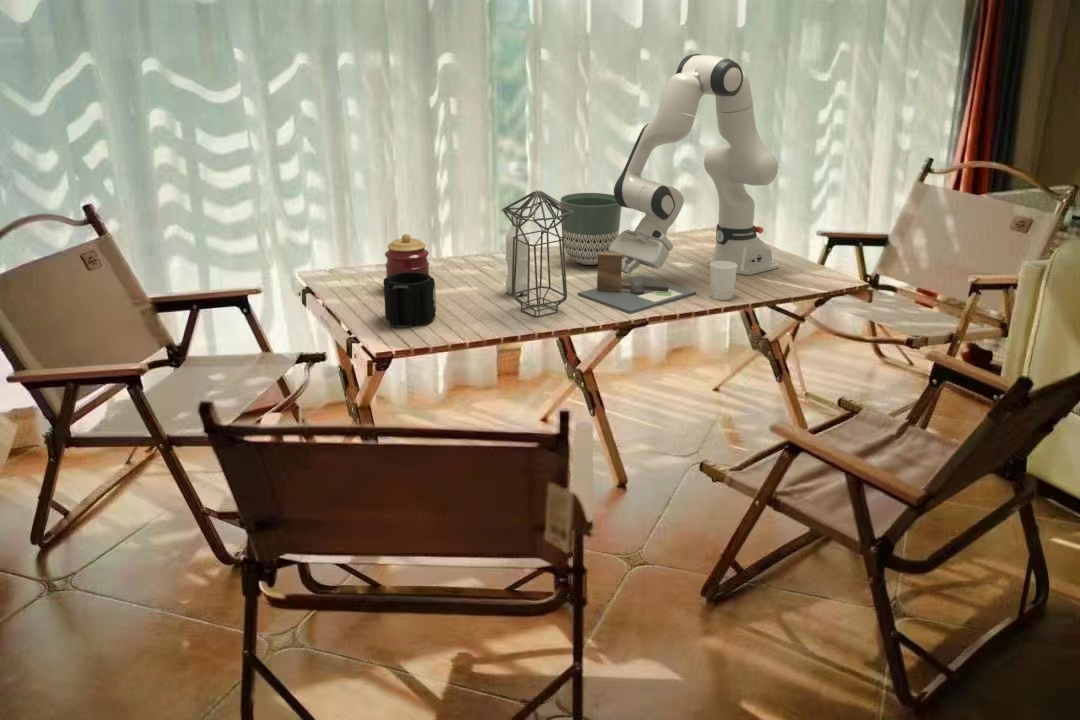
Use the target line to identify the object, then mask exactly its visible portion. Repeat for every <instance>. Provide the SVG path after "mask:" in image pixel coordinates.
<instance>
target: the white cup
mask: <svg viewBox="0 0 1080 720" xmlns="http://www.w3.org/2000/svg"><path fill="white" fill-rule="evenodd" d="M711 262H712V261H711ZM736 272H737V264H736V263H733V262H729V261H715V262H712V263H710V265H709V290H710V291H709V292H710V293H709V297H710V298H711V299H714V300H716V301H717V300H719V301H729V300H732V299H733V297H734V290H735V287H736V286H735V285H736V280H737V273H736Z"/></svg>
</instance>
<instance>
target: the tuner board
mask: <svg viewBox="0 0 1080 720" xmlns="http://www.w3.org/2000/svg"><path fill="white" fill-rule="evenodd" d="M633 279H641V280H644V286H660V287H669V288H668V292H665V291H648V290H644V292H643V293H632V292H631V290H624V289H621V291H605V290H597V287H595V288H590V289H587V290H584V291H579V292H577V296H578V297H582V298H585V299H587V300H590V301H594V302H596V303H598V304H602V305H603V306H604V305H605V306H608V307H610V308H612V309H616V310H619V311H621V312H623V313H627V314H630V315H631V314H634V313H637V312H640V311H641V312H642V311H645V310H648V309H651V308H655V307H658V306H662V305H665V304H668V303H671V302H675V301H679V300H682V299H686V298H689V297H692V296H695V295H697V291H694V290H691V289H689V288H686V287H682V286H679V285H675V284H672V283H669V282H666V281H663V280H660V279H655V278H652V277H651V276H647V275H644V274H643V275H640V276H636V277H632V278H629V279H625V280H621V284H631V280H633Z"/></svg>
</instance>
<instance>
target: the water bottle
mask: <svg viewBox="0 0 1080 720" xmlns="http://www.w3.org/2000/svg"><path fill="white" fill-rule="evenodd" d="M512 211H513V212H515V211H516V210H512ZM520 212H521V210H519V211H518V212H517V214H520ZM512 216H513V215H512ZM515 216H517V215H515ZM522 216H524V212H523V213H522ZM519 220H520V219H517V221H518V224H519ZM513 222H514V223H515V224H516V225H517V223H516V218H515V217H514V216H513ZM523 222H524V220H521V223H523ZM521 223H520V224H521ZM517 228H518V227H517ZM521 229H522V231H523V233H524V234H525V233H529V232H528V229H526V226H525V224H523V225H522V226H521ZM520 234H522V233H521V231H520V229H519V231H518V235H520ZM515 235H516V226H514V225H512V223H511V224H510V227H509V229H508V231H507V233H506V236H505V238H504V239H505V262H506V266H507V276H506V277H507V278H506V281H505V288H506V291H507V293H508V294H509V295H512V260H513V238H512V237H515ZM525 236H526V238H527V240H528V242H529V243H530V241H531V240H530V239H531V238H530V234H527V235H525ZM518 239H519V240H521V241H523V242H525V243H527V242H526V240H525V238H524V236H523V235H521V236H518ZM515 247H516V240H515ZM514 267H515V255H514ZM527 287H528V245H526V244H524V243H522V242H520V241H518V245H517V264H516V284H515V292H518V291H522V290H526V289H527ZM530 287H531V282H530V281H529V288H530ZM515 295H516V296H517V297H519V296H520V295H523V296H526V295H527V291H526V292H522V293H517V294H515Z"/></svg>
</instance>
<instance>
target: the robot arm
mask: <svg viewBox="0 0 1080 720" xmlns="http://www.w3.org/2000/svg"><path fill="white" fill-rule="evenodd" d="M704 95H710V96H711V95H713V96H714V97H715V109H716V118H717V127H718V132H719V135H720V136H721V137H722V138H723V139H724V140H725V141H726V142H727V143H728V144H718V145H717V144H716V145H713V146H711V147H710V148H708V150H707V151H706V153H705V155H704V158H703V166H704V167H703V168H704V170H705V172H706V173H707V174H708V175H709V177H710V178H711V180H712V181H713V183H714V186H715V189H716V191H717V192H716V193H717V196H718V222H717V224H716V231H715V239H716V240H715V241H716V242H715V247H714V253H713V257H712V260H711V263H712V262H715V261H729V262H733V263H736V264H737V272H736V274H738V275H746V276H750V275H755V274H758V273H764V272H767V271H771V270H775V269H779V267H780V266H779V263H778V262H776V261H775V260H773V252H772V249H771V248H770V246H769V245H768V244H766V243H765V242H764V241H763V239H762V240H761V238H760V237H758V235H757V233H758V234H763V233H764V228H763V227H762V226H760V225H759V226H756V225H754V217H755V207H756V205H755V200H754V199H753V197H752V196H751V195H750V194H749V192H747V190H746V188H745V185H749V186H755V187H756V186H767V185H770V184H771V183H772V182H774V180H775V179H776V177H777V175H778V171H779V161H778V159H777V157H776V156H775V155H774V154H772V153H771V151H769V150H768V148H767V147H766V146H765V144H764V143H763V141H762V139H761V136H760V135H759V132H758V130H757V126H756V119H755V112H754V104H753V103H754V102H753V95H752V89H751V85H750V81H749V78H748V75H747V73H746V72H745V71H743V69H742V67H741V66H740V64H738V62H736V61H735V60H733V59H731V58H725V57H721V56H719V55H709V54H700V53H694V54H693V53H692V54H689V55H685V57H684V58H683V59H682V60H681V61H680V62H679V64H678V67H677V70H676V72H675V74H674V75H672V76H671V77H670V79H669V80H668V83H667V85H666V87H665V89H664V91H663V94H662V97H661V100H660V103H659V106H658V109H657V111H656V113H655V116H654V117H653V118H652V120H651V121H650V122H649V123H646V124H645V125H644V126H643V128H642V129H641V130H640V133H639V135H638V137H637V138H636V140H635V143H634V145H633V148H632V149H631V152H630V154H629V157H628V160H627V162H626V163H625V166H624V168H623V170H622V173H621V174H620V176H618V178H617V180H616V182H615V184H614V186H613V195H614V196H615V199H616V201H617V203H618V205H620V206H621V208H627V209H630V210H631V209H632V210H635V211H638V212H642V213H644V214H645V215H644V216H643V217H642V218H641V220H640V221H639V222H638V225H637V226H636V227H635V229H634V231H633V230H630V229H626V230H624V231H621V232H620V233H619V235H618V237H617V238H616V239H615V240H614V241H613V243H612V244H611V245H610V247H609V251H610V252H611V253H613V254H622V274H623V273H624V274H626V275H631V274H632V272H633V271H634V270H635V269H637V268H638V267H639V266H640V265H642V266H646V267H649V268H652V269H656V270H659V269H660V268H662V267H663V266H664V264H665V262H667V258H668V257H669V255H670V251H672V250H673V248H674V245H673V243H672V242H671V240H669V238H668V237H667V236H666V235H667V233H668V230H669V228H670V227H671V226H673V224H674V223H675V221H676V220H677V218H678V216H679V214H680V212H681V210H682V208H683V205H684V201H685V199H684V196H683V194H682V192H680V190H678V189H677V188H675V187H674V186H669V185H668V186H667V185H665V184H663V183H659V182H657V181H653V180H649V179H646V178H643V177H642V173H643V171H644V168H645V167H646V164H647V161H648V159H649V158H650V155H651V153H652V152H653V150H654V149H656V148H657V147H659V146H662V145H667V144H672V143H673V144H674V143H677V142H679V141H681V140H683V139H685V138H686V137H687V136H688V135H689V134H690V133H691V131H692V128H693V126H694V122H695V119H696V114H697V110H698V107H699V103H700V99H701V98H702V97H703V96H704ZM631 262H632V263H631Z"/></svg>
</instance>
